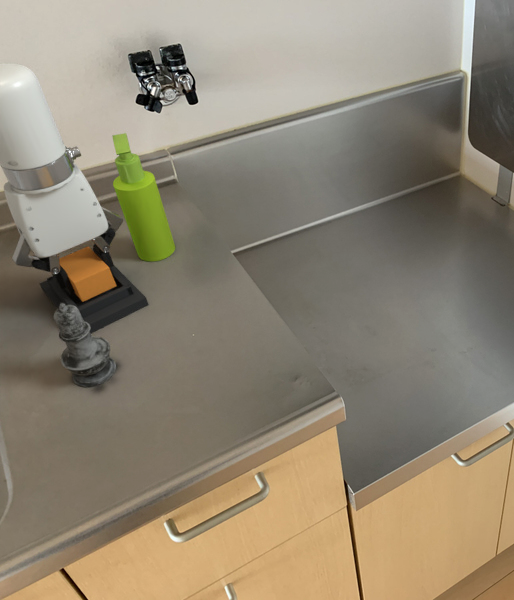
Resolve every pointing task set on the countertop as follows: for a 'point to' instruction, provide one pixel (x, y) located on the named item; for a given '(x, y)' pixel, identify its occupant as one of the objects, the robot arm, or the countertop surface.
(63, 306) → the grey chess piece
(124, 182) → the soap dispenser
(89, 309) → the black tray
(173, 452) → the countertop surface
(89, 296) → the orange block
